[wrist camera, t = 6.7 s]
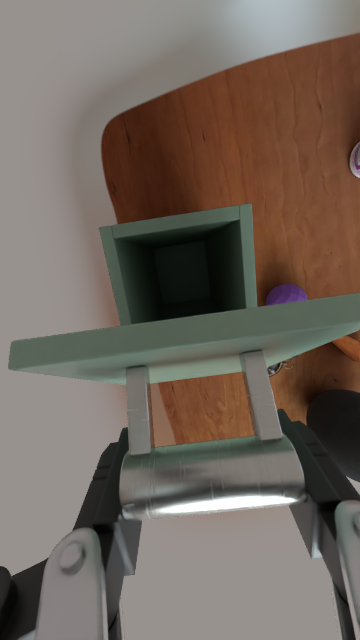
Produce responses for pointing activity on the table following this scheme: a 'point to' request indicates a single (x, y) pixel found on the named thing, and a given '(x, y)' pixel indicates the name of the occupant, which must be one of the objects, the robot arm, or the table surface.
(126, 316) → the trash can
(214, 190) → the table surface
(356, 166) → the pill bottle
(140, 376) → the bin lid
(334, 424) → the decorative egg
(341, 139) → the table surface
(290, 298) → the kendama
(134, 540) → the robot arm
